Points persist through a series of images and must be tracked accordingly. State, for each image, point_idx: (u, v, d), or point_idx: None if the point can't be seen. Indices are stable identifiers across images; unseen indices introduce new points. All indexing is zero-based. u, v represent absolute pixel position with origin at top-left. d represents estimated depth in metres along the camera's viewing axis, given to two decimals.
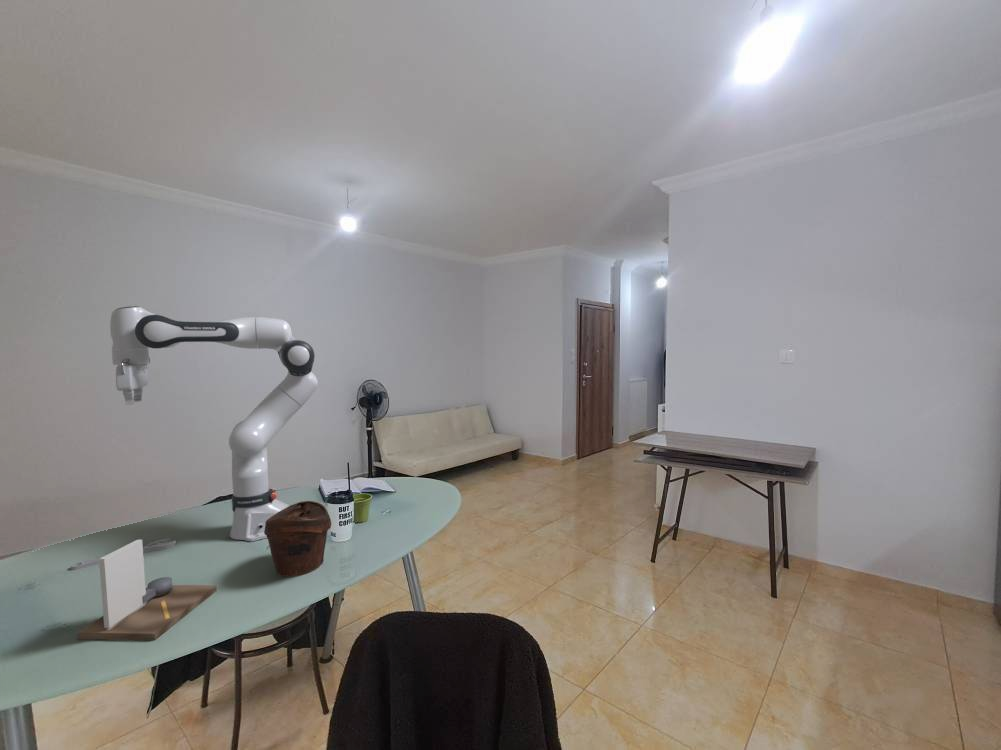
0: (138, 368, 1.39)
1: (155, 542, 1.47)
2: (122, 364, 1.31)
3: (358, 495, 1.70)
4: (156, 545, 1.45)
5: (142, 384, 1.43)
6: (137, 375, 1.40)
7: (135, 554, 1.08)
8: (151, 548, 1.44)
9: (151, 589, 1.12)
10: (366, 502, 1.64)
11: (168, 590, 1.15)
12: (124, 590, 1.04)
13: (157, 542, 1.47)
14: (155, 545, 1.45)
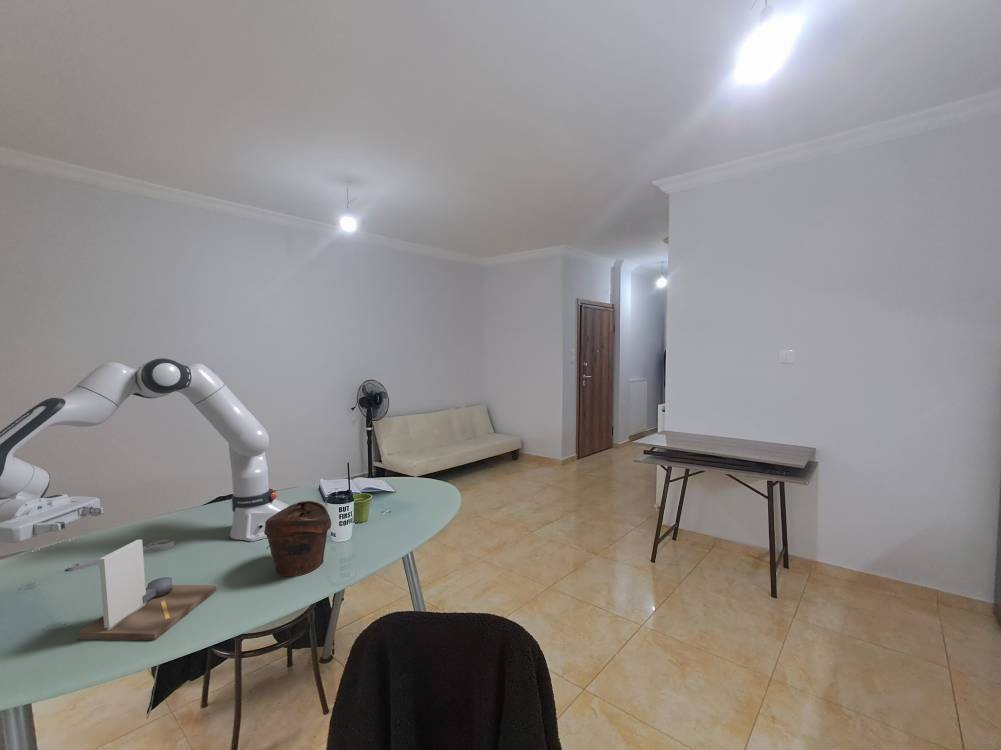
0: (28, 512, 1.05)
1: (153, 543, 1.47)
2: None
3: (358, 495, 1.70)
4: (154, 546, 1.44)
5: (71, 506, 1.10)
6: None
7: (135, 554, 1.08)
8: (149, 549, 1.43)
9: (151, 589, 1.12)
10: (366, 502, 1.64)
11: (168, 590, 1.15)
12: (124, 590, 1.04)
13: (155, 543, 1.47)
14: (153, 546, 1.44)
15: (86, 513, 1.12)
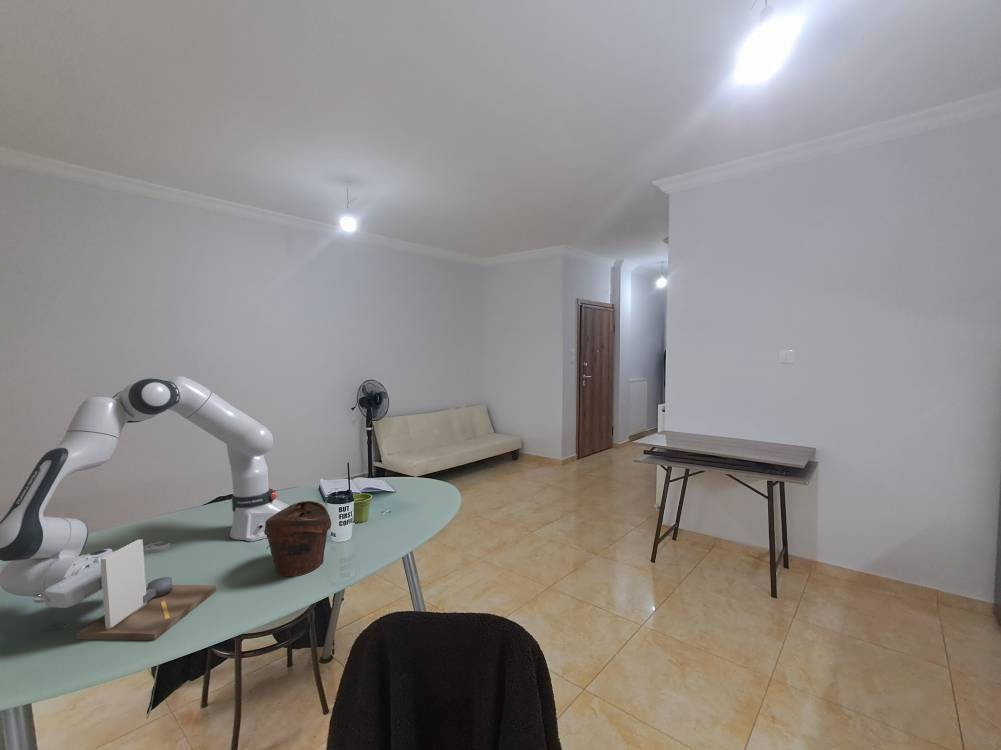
0: (76, 573, 1.05)
1: (149, 545, 1.45)
2: (34, 600, 0.98)
3: (358, 495, 1.70)
4: (150, 548, 1.43)
5: None
6: (91, 573, 1.06)
7: (136, 554, 1.08)
8: (145, 551, 1.42)
9: (151, 589, 1.12)
10: (366, 502, 1.64)
11: (168, 590, 1.15)
12: (125, 590, 1.04)
13: (151, 545, 1.45)
14: (149, 548, 1.43)
15: None
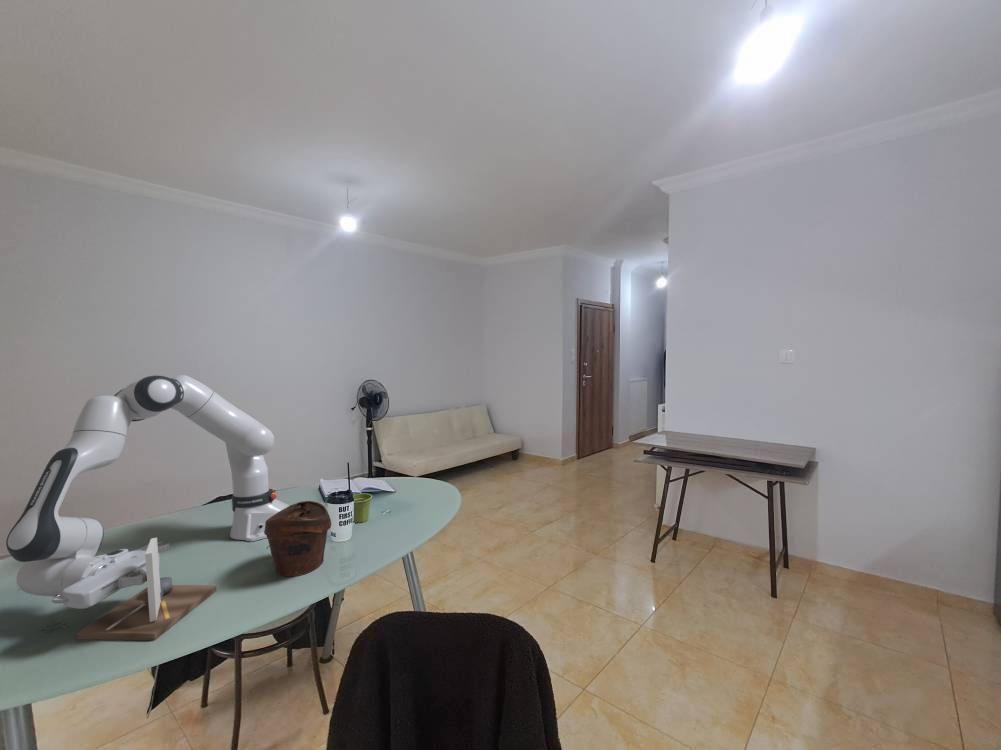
0: (94, 573, 1.05)
1: None
2: (52, 600, 0.97)
3: (358, 495, 1.70)
4: None
5: (134, 564, 1.10)
6: None
7: (156, 551, 1.09)
8: None
9: (159, 588, 1.13)
10: (366, 502, 1.64)
11: None
12: (156, 585, 1.06)
13: None
14: None
15: None
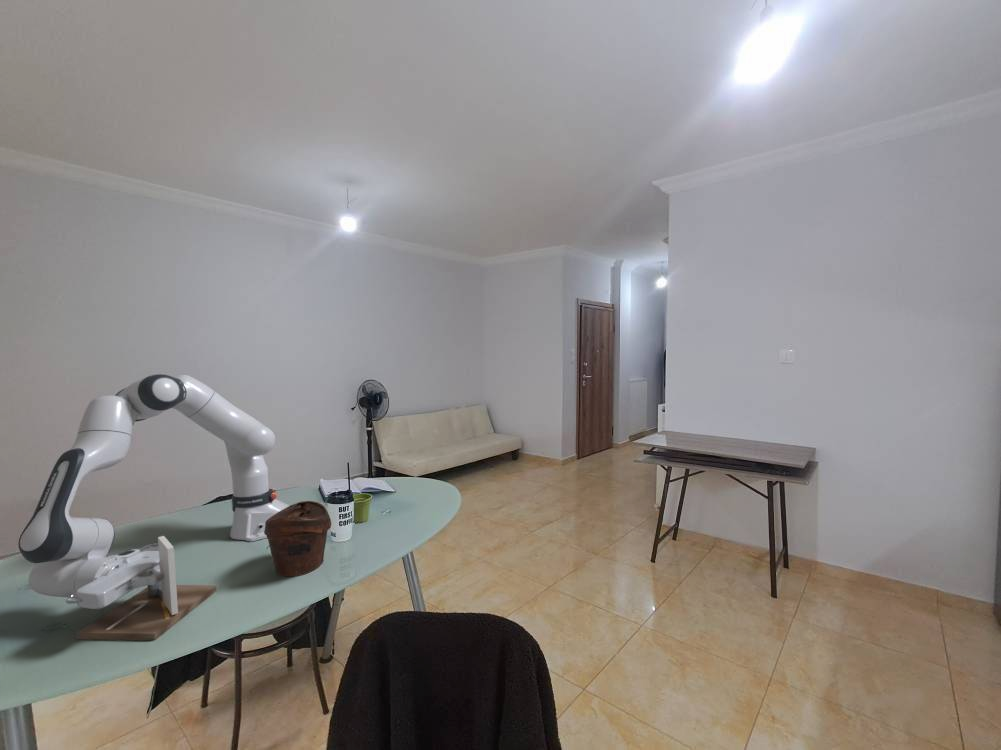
0: (106, 573, 1.05)
1: (147, 546, 1.45)
2: (66, 601, 0.97)
3: (358, 495, 1.70)
4: (148, 549, 1.42)
5: (146, 564, 1.10)
6: None
7: None
8: None
9: None
10: (366, 502, 1.64)
11: None
12: None
13: (149, 546, 1.45)
14: (147, 549, 1.42)
15: None
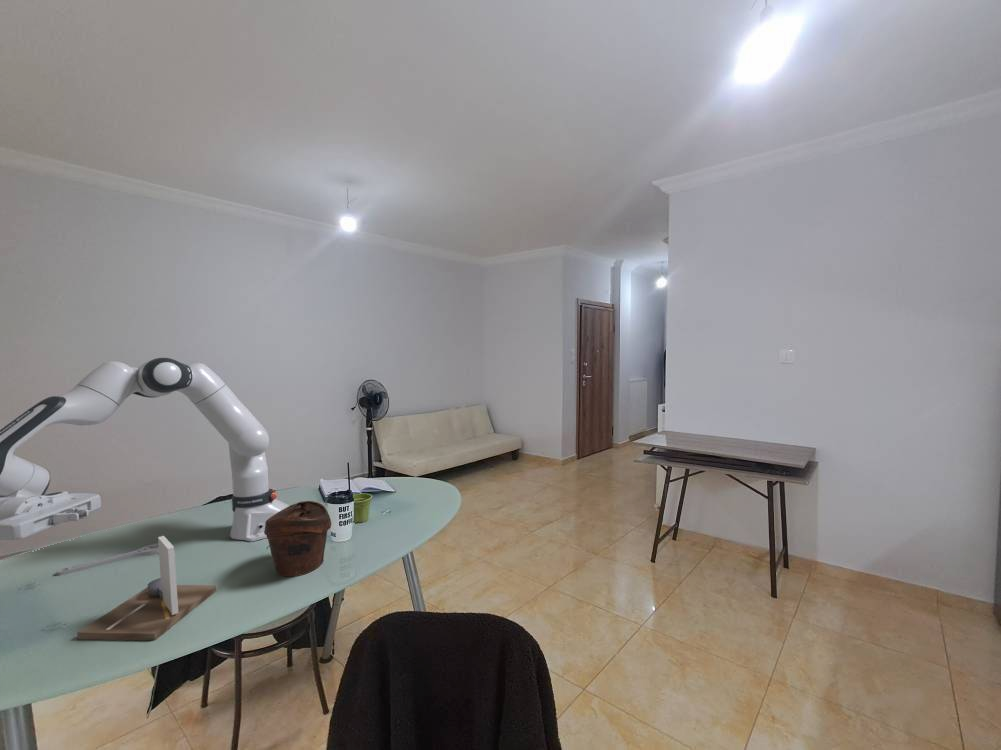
0: (28, 510, 1.05)
1: (145, 547, 1.44)
2: None
3: (358, 495, 1.70)
4: (145, 550, 1.41)
5: (71, 503, 1.09)
6: None
7: None
8: (140, 553, 1.40)
9: None
10: (366, 502, 1.64)
11: None
12: None
13: (146, 547, 1.44)
14: (144, 550, 1.41)
15: None
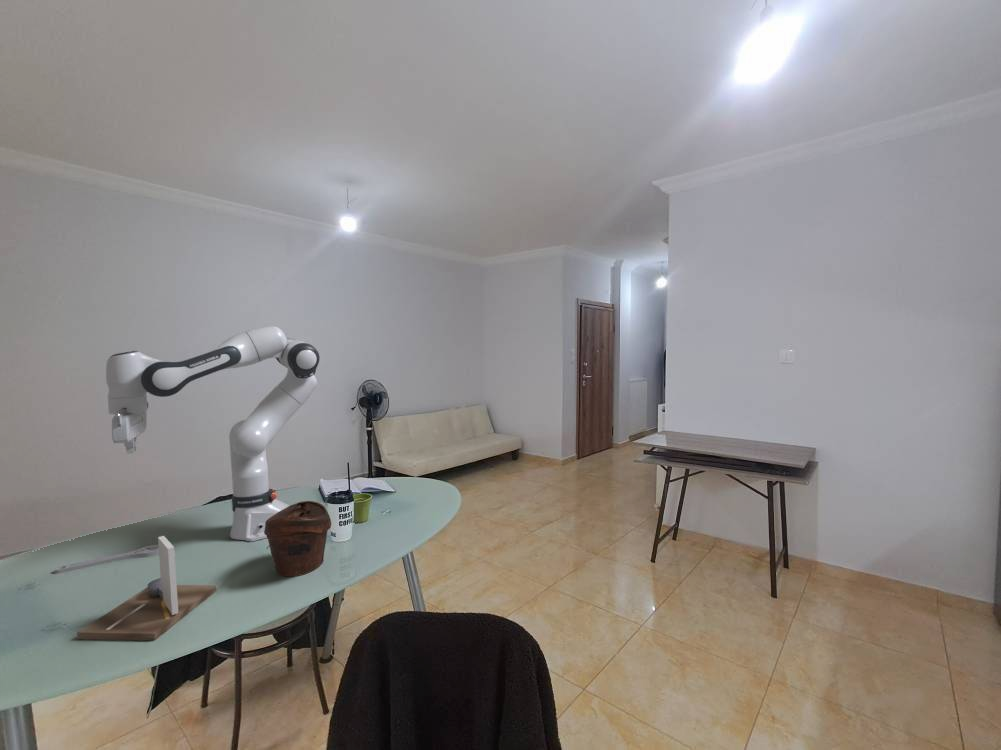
0: (136, 416, 1.31)
1: (143, 548, 1.43)
2: (118, 415, 1.23)
3: (358, 495, 1.70)
4: (141, 552, 1.40)
5: (140, 432, 1.36)
6: (135, 423, 1.32)
7: None
8: (136, 555, 1.39)
9: None
10: (366, 502, 1.64)
11: None
12: None
13: (144, 548, 1.43)
14: (140, 552, 1.40)
15: None
